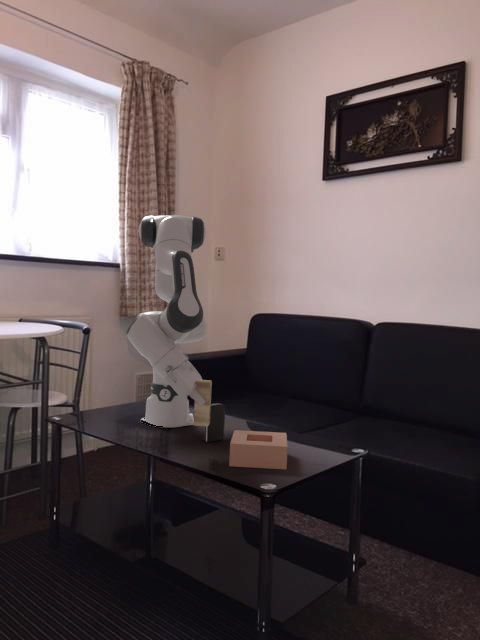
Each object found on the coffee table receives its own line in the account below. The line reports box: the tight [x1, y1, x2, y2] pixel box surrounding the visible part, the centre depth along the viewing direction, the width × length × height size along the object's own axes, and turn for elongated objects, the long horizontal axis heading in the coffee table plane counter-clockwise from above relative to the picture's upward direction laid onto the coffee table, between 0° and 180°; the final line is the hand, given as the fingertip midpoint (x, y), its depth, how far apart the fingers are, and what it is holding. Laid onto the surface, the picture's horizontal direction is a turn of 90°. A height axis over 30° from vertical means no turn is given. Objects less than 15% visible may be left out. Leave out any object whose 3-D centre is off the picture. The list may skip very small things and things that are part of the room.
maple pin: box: [193, 379, 213, 427], centre depth 149 cm, size 4×4×12 cm
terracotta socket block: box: [228, 429, 288, 470], centre depth 148 cm, size 15×15×6 cm
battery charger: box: [203, 402, 226, 443], centre depth 167 cm, size 7×4×11 cm, turn 134°
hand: (205, 401), depth 149 cm, fingers closed on maple pin, 4 cm apart
